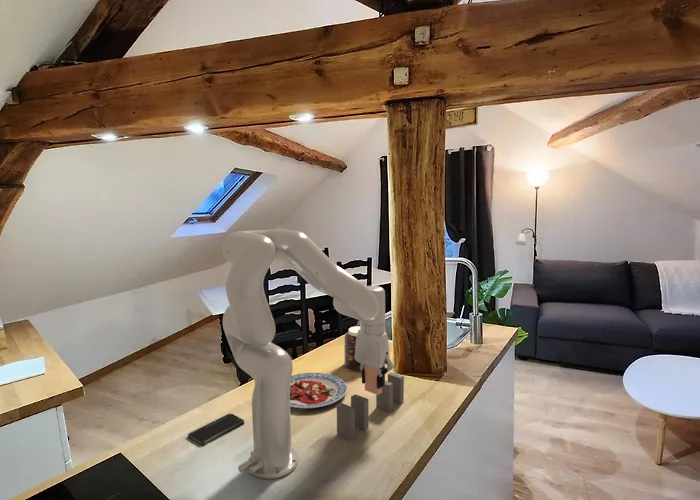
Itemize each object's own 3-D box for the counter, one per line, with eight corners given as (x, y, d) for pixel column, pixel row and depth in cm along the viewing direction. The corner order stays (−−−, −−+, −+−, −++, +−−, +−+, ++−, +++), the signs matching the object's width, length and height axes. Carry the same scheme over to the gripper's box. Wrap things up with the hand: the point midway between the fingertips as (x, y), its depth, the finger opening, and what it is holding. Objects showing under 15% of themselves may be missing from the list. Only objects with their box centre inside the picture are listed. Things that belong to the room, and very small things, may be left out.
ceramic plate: (258, 407, 139) (257, 398, 139) (291, 374, 164) (291, 367, 163) (332, 419, 132) (332, 410, 131) (356, 382, 156) (356, 375, 156)
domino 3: (389, 412, 135) (389, 385, 134) (376, 407, 138) (376, 381, 137) (392, 409, 136) (392, 383, 135) (379, 405, 139) (379, 378, 138)
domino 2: (364, 430, 125) (364, 401, 124) (351, 424, 128) (350, 396, 127) (368, 427, 126) (368, 399, 125) (355, 422, 129) (355, 394, 128)
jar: (379, 367, 169) (379, 330, 166) (354, 374, 162) (354, 336, 160) (362, 357, 179) (362, 323, 176) (338, 363, 172) (338, 328, 170)
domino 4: (400, 404, 140) (400, 378, 139) (387, 399, 143) (387, 374, 142) (403, 401, 141) (403, 376, 140) (390, 397, 144) (391, 372, 143)
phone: (245, 421, 129) (201, 444, 118) (246, 424, 129) (202, 448, 118) (230, 412, 134) (186, 434, 122) (230, 416, 134) (186, 437, 123)
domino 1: (350, 441, 120) (350, 411, 119) (337, 434, 123) (336, 405, 122) (354, 437, 121) (354, 408, 120) (341, 431, 124) (341, 402, 123)
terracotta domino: (378, 395, 129) (377, 366, 127) (364, 390, 132) (364, 362, 131) (381, 392, 130) (381, 364, 129) (368, 387, 133) (368, 360, 132)
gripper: (342, 325, 130) (344, 381, 133) (389, 336, 120) (389, 397, 123) (357, 319, 136) (358, 372, 139) (403, 329, 126) (403, 387, 128)
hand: (373, 383), depth 131 cm, fingers closed on terracotta domino, 4 cm apart
